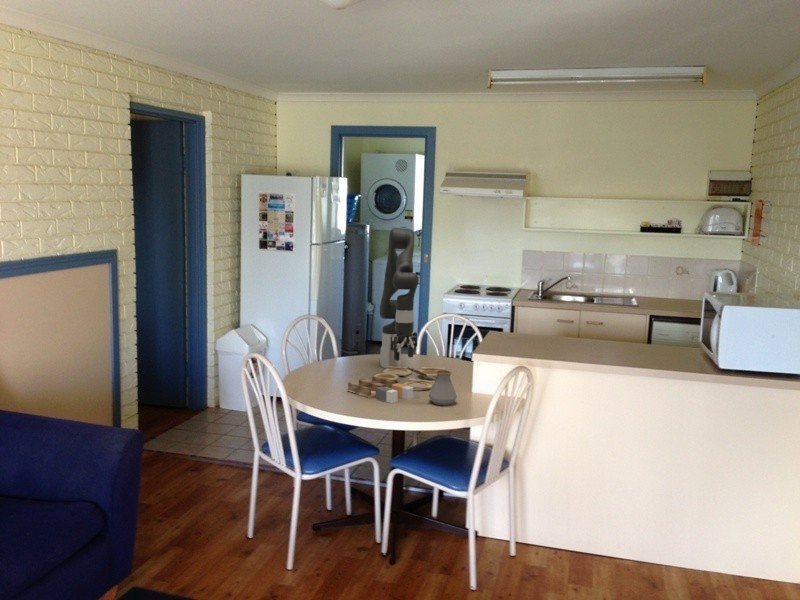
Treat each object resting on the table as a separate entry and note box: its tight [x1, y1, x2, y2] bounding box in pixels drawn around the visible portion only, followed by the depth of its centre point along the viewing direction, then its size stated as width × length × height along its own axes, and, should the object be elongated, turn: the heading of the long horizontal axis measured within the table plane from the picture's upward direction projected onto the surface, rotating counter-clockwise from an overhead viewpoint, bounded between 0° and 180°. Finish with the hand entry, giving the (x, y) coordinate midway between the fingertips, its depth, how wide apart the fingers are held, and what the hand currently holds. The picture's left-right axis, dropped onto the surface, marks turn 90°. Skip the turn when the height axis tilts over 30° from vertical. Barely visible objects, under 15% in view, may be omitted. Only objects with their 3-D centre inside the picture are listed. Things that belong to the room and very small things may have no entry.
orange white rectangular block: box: [392, 382, 414, 400], centre depth 291 cm, size 9×4×4 cm, turn 48°
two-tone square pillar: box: [375, 387, 399, 404], centre depth 285 cm, size 9×4×4 cm, turn 48°
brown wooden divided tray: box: [346, 375, 396, 399], centre depth 297 cm, size 14×16×4 cm
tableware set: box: [369, 366, 447, 391], centre depth 317 cm, size 35×29×4 cm
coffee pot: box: [406, 366, 458, 406], centre depth 282 cm, size 21×12×15 cm, turn 97°
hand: (403, 358), depth 288 cm, fingers open, 8 cm apart
